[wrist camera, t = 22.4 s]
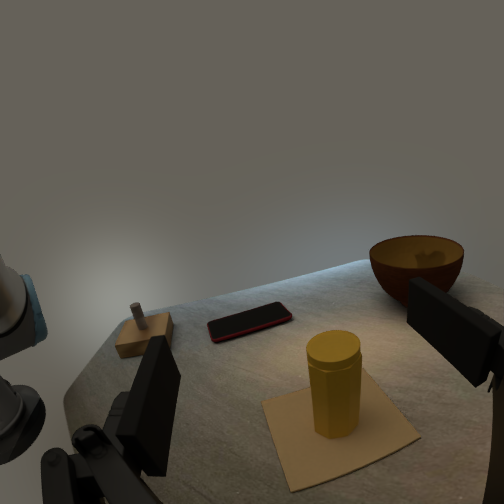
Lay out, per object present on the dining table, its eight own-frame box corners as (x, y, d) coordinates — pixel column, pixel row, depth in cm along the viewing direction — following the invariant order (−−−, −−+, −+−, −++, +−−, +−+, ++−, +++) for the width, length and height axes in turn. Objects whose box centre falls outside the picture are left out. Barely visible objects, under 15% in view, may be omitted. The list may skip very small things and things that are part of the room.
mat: (291, 493, 19) (290, 491, 19) (261, 403, 33) (260, 401, 33) (420, 438, 21) (421, 436, 21) (363, 369, 35) (363, 367, 34)
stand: (120, 358, 47) (104, 321, 45) (130, 332, 57) (117, 299, 55) (170, 350, 49) (155, 310, 46) (173, 324, 58) (162, 289, 56)
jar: (315, 441, 25) (308, 366, 22) (312, 410, 29) (304, 334, 27) (360, 433, 24) (366, 355, 21) (353, 403, 29) (353, 326, 26)
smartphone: (206, 322, 55) (279, 300, 58) (207, 326, 55) (279, 304, 58) (211, 340, 48) (293, 315, 51) (212, 344, 48) (294, 319, 51)
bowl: (388, 336, 40) (389, 276, 37) (361, 290, 57) (358, 243, 54) (476, 311, 38) (482, 256, 35) (433, 275, 54) (434, 230, 52)
